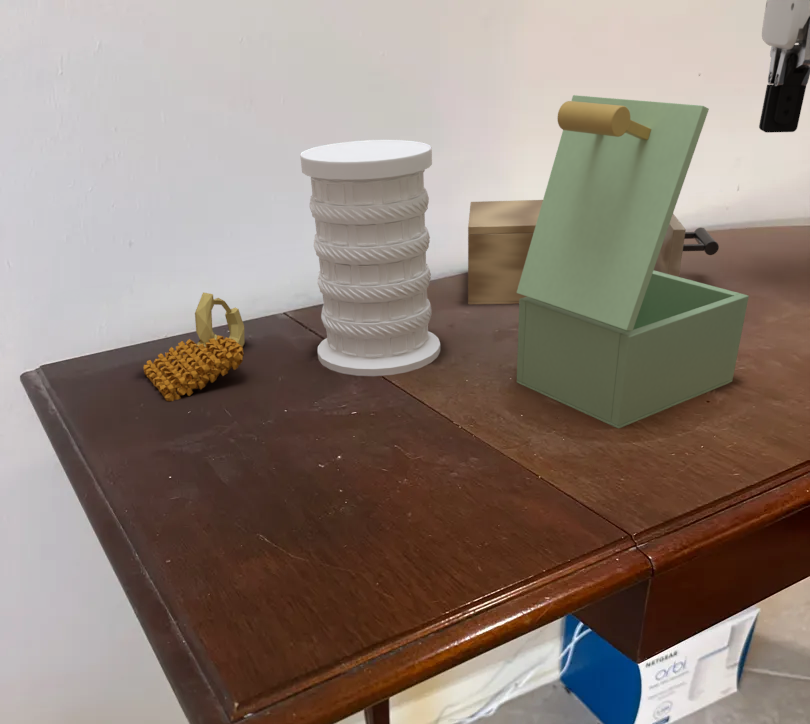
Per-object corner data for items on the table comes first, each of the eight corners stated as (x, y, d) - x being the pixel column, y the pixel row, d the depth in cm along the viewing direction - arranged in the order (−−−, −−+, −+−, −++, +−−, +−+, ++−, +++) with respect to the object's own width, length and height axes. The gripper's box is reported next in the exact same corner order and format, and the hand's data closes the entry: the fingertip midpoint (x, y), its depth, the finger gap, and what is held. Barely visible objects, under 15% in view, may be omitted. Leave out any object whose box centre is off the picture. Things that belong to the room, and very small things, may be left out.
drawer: (696, 267, 93) (705, 204, 90) (716, 295, 85) (728, 227, 81) (550, 270, 95) (553, 208, 91) (555, 298, 86) (559, 232, 83)
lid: (579, 97, 60) (533, 77, 57) (709, 108, 52) (664, 85, 49) (522, 294, 65) (477, 285, 62) (632, 331, 57) (587, 323, 54)
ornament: (199, 357, 65) (264, 265, 75) (97, 374, 69) (172, 284, 79) (237, 424, 69) (294, 328, 79) (139, 436, 73) (205, 344, 83)
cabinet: (586, 275, 96) (592, 198, 91) (596, 307, 86) (604, 223, 81) (470, 278, 97) (470, 201, 92) (468, 309, 87) (468, 226, 83)
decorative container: (300, 351, 79) (275, 149, 69) (405, 328, 83) (396, 134, 73) (348, 392, 71) (328, 168, 61) (463, 364, 75) (462, 150, 65)
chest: (625, 350, 76) (635, 265, 72) (731, 388, 68) (749, 295, 64) (515, 388, 70) (519, 298, 65) (617, 435, 62) (628, 336, 57)
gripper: (907, -116, 64) (843, 142, 74) (840, -100, 76) (793, 119, 86) (807, -111, 64) (758, 144, 75) (757, -96, 77) (720, 121, 87)
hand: (777, 130), depth 80 cm, fingers closed
